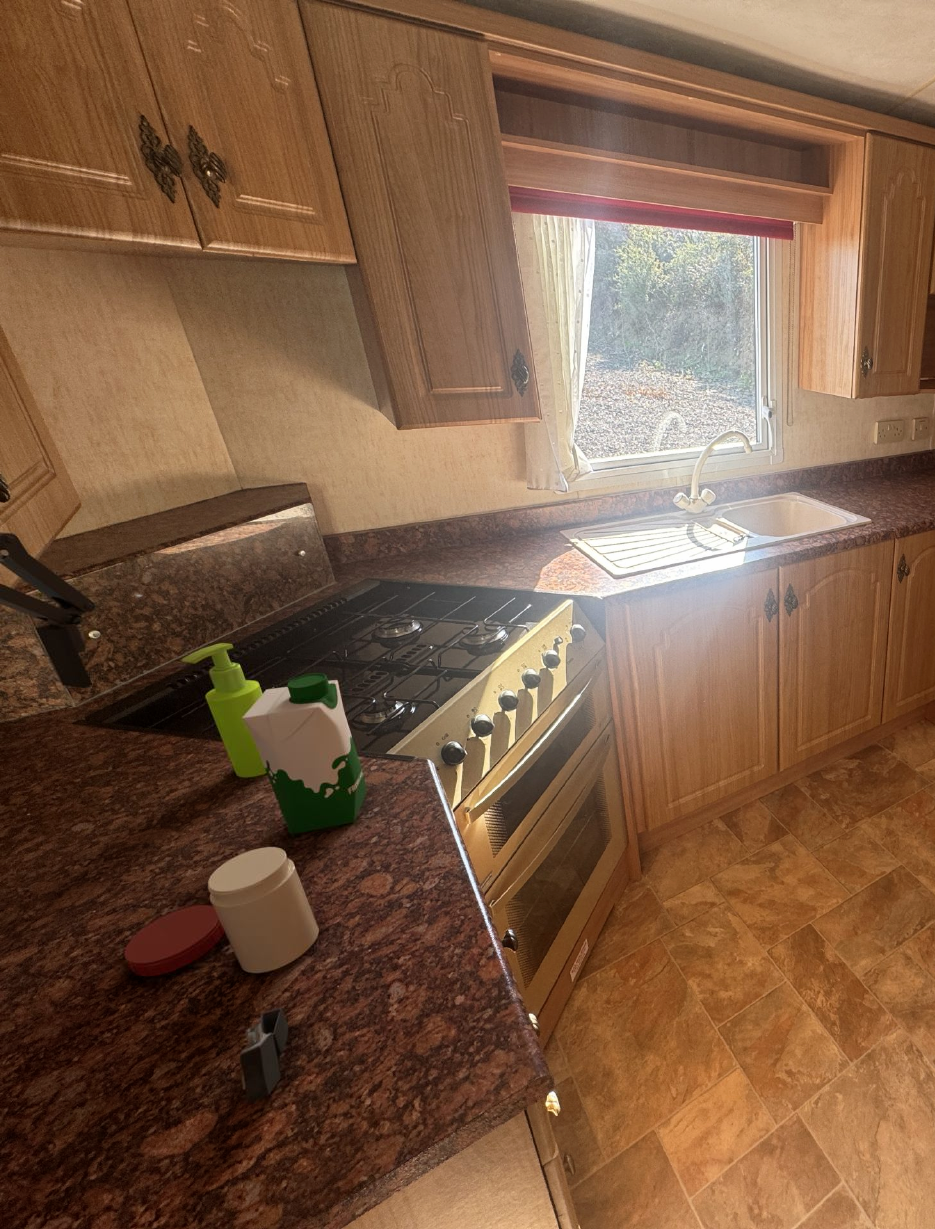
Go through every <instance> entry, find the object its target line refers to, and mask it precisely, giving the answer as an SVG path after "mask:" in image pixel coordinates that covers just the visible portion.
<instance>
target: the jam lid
mask: <svg viewBox="0 0 935 1229" xmlns="http://www.w3.org/2000/svg"><path fill="white" fill-rule="evenodd" d="M224 935H225V931H224V929H223V927H222V925H221V923H220V921H219V918H218V916H217V914H216V912H215V910H214V908H213V905H207V904H199V905H192V906H188V907H183V908H181V909H177V910H174V911H172V912H170V913H167V914H166V915H163V916H162V917H159V918H158V919H156V920H154V921H153V922H151V923H149V924H148V925H146V926H145V927H143V928H142V929H141V930H139V932H137V933H136V934H135V935H134V936H133V937H132V938H131V939H130V941H129V942H128V943H127V944H126V947H125V949H124V958H125V960H126V964H127V966H128V968H129V970H130V972H133V974H135V975H136V976H141V977H156V976H159V975H165V974H168V973H171V972H173V971H176V970H178V969H179V970H180V969H181V968H184V967H185V966H188V965H190V964H191V963H193V962H195V961H197V960H198V959H200V958H202V956H204V955H205V954H206V953H208V952H209V951H211V950H212V949H213V948H214V947H215V946H216V945H217V944H218V943H219V941H220V940H221V938H222V937H223V936H224Z"/></svg>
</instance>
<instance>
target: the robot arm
mask: <svg viewBox="0 0 935 1229" xmlns="http://www.w3.org/2000/svg"><path fill="white" fill-rule="evenodd" d="M0 565H2V566H3V567H5V568H6V569H7V570H9V571H10V572H12V573H13V574H15V575H16V576H17V577H19V578H20V579H21V580H23V581H24V582H25V583H27V584H29V586H31V587H33V588H34V589H36V590H37V591H38V592H40V593H41V594H43V596H45V597H47V598H48V599H50V600H51V601H52V602H53V603H55V604H56V605H57V606H55V605H53V604H51V603H48V602H46V601H44V600H41V599H39V598H36V597H34V596H32V595H29V594H27V593H25V592H22V591H20V590H17V589H15V588H13V587H11V586H8V585H5V584H3V583H1V582H0V605H1V606H4V607H6V608H8V609H9V608H10V609H13V610H14V611H17V612H19V613H22V614H24V615H26V616H27V615H28V616H30V617H33V618H35V619H37V620H40V621H42V622H45V623H47V624H43V625H40V626H36V627H35V630H36V632H37V635H38V636H39V639H40V641H41V643H42V645H43V647H44V649H45V651H46V653H47V655H48V657H49V659H50V661H51V663H52V665H53V668H54V670H55V672H56V674H57V676H58V678H59V681H60V683H61V684H62V686H64V687H66V686H67V687H73V688H80V689H85V688H89V687H90V686H93V682H92V680H91V678H90V676H89V674H88V671H87V669H86V667H85V664H84V663H83V660H82V658H81V656H80V653H83V652H86V649H87V645H86V643H85V641H84V639H83V636H82V634H81V632H80V629H79V628H78V626H79V625H81V624H82V623H83V620H84V617H83V615H84V614H86V613H91V612H93V611H95V610H96V606H97V605H96V604H95V602H94V601H93V600H91V599H90V598H89V597H87V596H86V595H85V594H83V593H82V592H80V591H79V590H78V589H76V588H75V587H74V586H72V585H71V584H70V583H68V582H67V581H66V580H64V579H63V578H62V577H61V576H59V575H58V574H56V573H55V572H54V571H52V570H51V569H50V568H48V567H47V566H45V564H43V563H41V562H40V561H39V560H38V559H36V558H35V557H34V556H32V555H31V554H30V553H29V552H28V551H27V549H26V548H25V546H24V545H23V543H22V541H21V540H20V539H19V537H18V536H17V535H16V534H14V533H12V532H11V533H10V532H1V531H0Z"/></svg>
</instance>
